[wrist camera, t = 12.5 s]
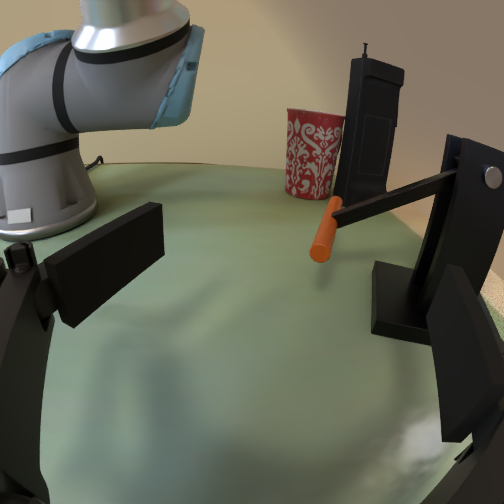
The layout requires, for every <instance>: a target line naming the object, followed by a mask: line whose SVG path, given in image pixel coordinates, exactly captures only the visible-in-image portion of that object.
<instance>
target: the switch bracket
mask: <svg viewBox="0 0 504 504" xmlns="http://www.w3.org/2000/svg"><path fill="white" fill-rule="evenodd" d="M459 154H460V159H459V164H458V169H457V174H456V178H455V183H454V187H453V188H451V189H448V190H445V191H442V192H440V193H437V194H435V198H434V203H433V207H432V211H431V214H430V218H429V222H428V225H427V229H426V233H425V236H424V239H423V243H422V246H421V249H420V253H419V256H418V259H417V262H416V265H415V268H414V269H411V268H406V267H402V266H398V265H394V264H389V263H385V262H380V261H375V263H374V267H373V270H372V325H371V334H375V335H380V336H385V337H390V338H395V339H399V340H404V341H410V342H415V343H420V344H425V345H431V341H430V335H429V330H428V325H427V320H426V315H427V313H428V311H429V308H430V306H431V304H432V301H433V299H434V296H435V294H436V292H437V289H438V287H439V284H440V282H441V279H442V276H443V274H444V271H445V268H446V266H447V264H451V265H455V266H459V267H462V268H463V270H464V272H465V274H466V276H467V278H468V280H469V282H470V283H471V285H472V287H473V289H474V292H475V294H476V296H477V298H478V300H479V302H480V304H481V306H482V308H483V311H484V313H485V315H486V317H487V320H488V322H489V324H490V327H491V329H492V331H493V333H495V334H498V335H499V333H498V330H497V328H496V326H495V323H494V321H493V319H492V317H491V315H490V312H489V310H488V308H487V306H486V304H485V302H484V300H483V298H482V296H481V294H480V291H481V288H482V286H483V284H484V281H485V279H486V277H487V274H488V272H489V269H490V266H491V264H492V261H493V259H494V256H495V253H496V251H497V248H498V245H499V242H500V239H501V236H502V233H503V230H504V152H502V151H499V150H497V149H495V148H492V147H489V146H487V145H484V144H481V143H478V142H475V141H473V140H470V139H467V138H460V137H456V136H453V135H449V134H447V138H446V144H445V150H444V156H443V162H442V166H441V171H440V173H443V172H446V171H448V170H451V169H454V168H457V167H456V164H455V161H454V156H456V155H459ZM499 336H500V335H499Z"/></svg>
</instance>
